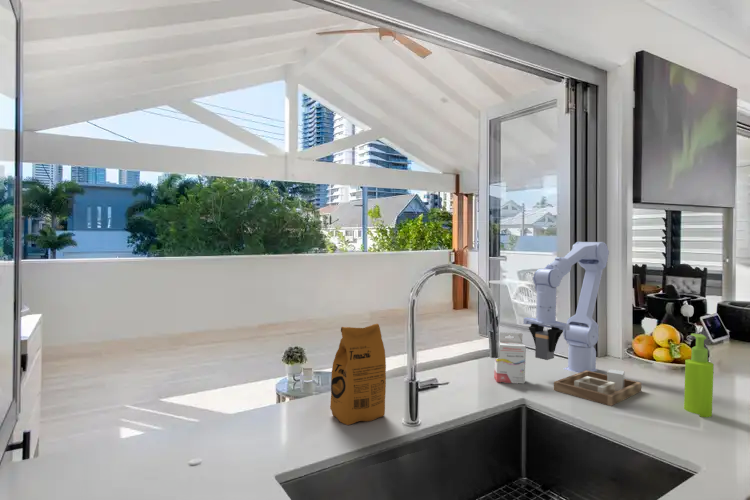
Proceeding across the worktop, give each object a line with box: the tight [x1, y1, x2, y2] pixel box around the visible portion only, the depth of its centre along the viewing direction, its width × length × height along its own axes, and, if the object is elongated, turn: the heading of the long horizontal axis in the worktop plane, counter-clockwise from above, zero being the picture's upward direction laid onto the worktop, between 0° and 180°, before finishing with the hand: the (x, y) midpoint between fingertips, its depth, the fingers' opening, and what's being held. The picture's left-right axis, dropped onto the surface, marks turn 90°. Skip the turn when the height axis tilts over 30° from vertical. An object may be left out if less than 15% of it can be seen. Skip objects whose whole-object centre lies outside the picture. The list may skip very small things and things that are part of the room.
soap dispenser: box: [683, 333, 714, 418], centre depth 118 cm, size 6×7×20 cm
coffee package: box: [329, 323, 387, 426], centre depth 111 cm, size 10×12×22 cm
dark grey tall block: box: [534, 330, 555, 361], centre depth 143 cm, size 4×4×8 cm
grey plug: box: [606, 368, 626, 391], centre depth 134 cm, size 4×4×5 cm
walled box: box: [553, 370, 642, 407], centre depth 132 cm, size 20×16×4 cm
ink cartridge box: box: [493, 331, 527, 384], centre depth 142 cm, size 9×5×15 cm, turn 84°
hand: (545, 350), depth 144 cm, fingers closed on dark grey tall block, 4 cm apart
